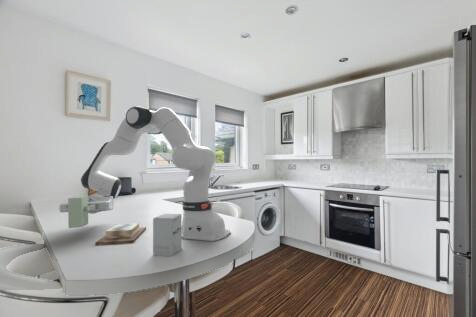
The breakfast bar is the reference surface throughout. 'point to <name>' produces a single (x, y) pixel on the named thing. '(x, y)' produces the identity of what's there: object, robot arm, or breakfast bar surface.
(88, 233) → the breakfast bar surface
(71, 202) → the column block
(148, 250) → the breakfast bar surface
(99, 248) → the breakfast bar surface
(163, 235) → the supplement box
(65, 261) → the breakfast bar surface
